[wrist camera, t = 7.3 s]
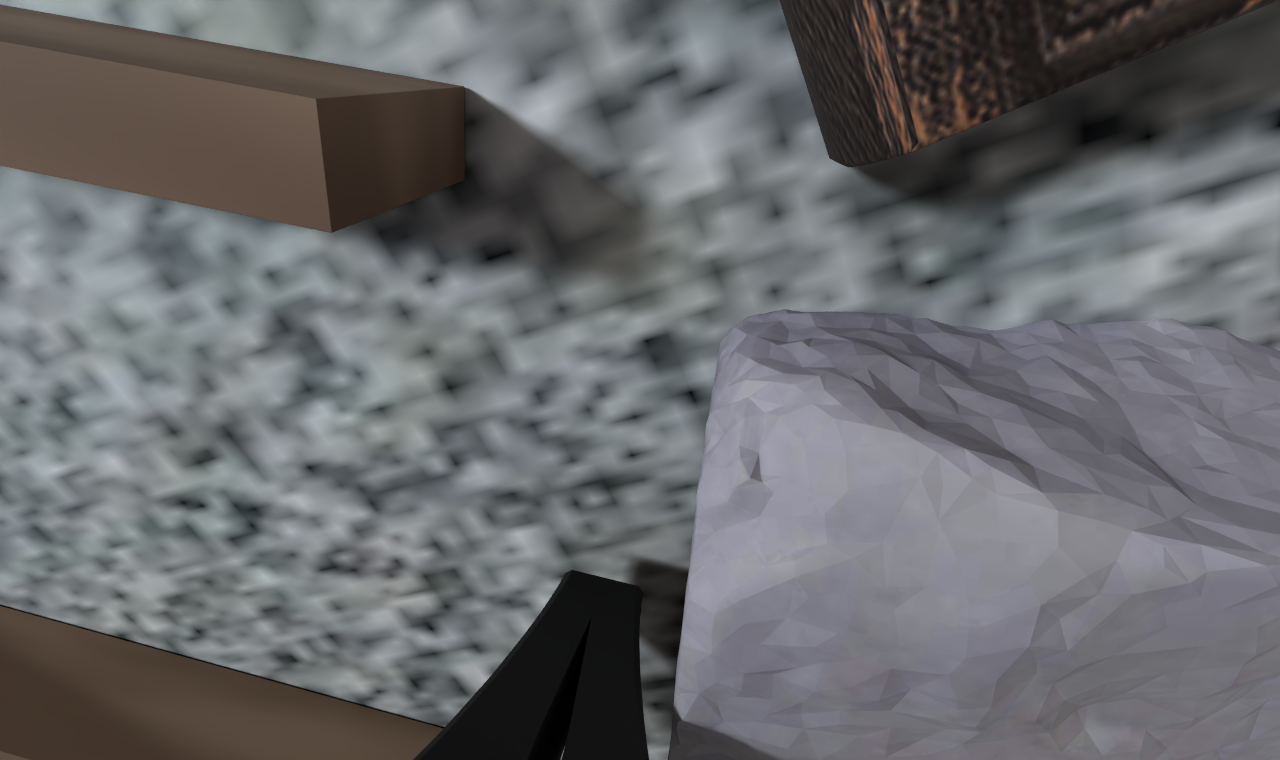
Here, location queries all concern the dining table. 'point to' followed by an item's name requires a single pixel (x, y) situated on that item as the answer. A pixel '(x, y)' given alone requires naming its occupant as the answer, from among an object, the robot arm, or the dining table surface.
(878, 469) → the stone block
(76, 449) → the dining table surface
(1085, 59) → the hardcover book
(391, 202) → the shelf lane
